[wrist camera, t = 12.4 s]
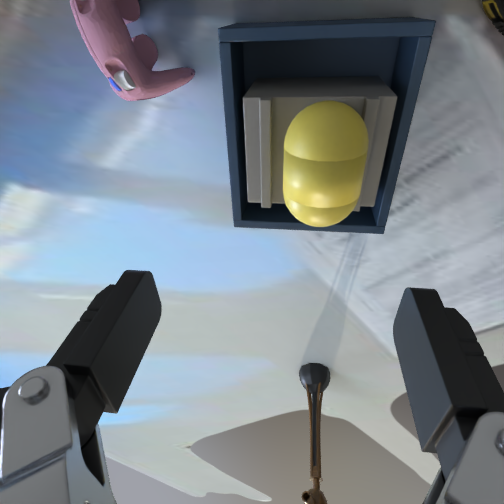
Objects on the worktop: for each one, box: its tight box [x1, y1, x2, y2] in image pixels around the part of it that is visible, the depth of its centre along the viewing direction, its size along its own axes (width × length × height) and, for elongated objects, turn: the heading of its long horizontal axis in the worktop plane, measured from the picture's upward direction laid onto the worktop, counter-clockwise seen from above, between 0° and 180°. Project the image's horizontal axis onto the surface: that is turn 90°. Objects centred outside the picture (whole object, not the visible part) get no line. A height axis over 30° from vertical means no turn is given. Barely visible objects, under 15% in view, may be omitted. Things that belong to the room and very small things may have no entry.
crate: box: [218, 17, 436, 234], centre depth 28 cm, size 16×14×6 cm
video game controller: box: [70, 0, 195, 101], centre depth 25 cm, size 10×5×7 cm, turn 17°
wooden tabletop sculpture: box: [299, 363, 330, 504], centre depth 45 cm, size 6×5×20 cm
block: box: [243, 76, 397, 211], centre depth 27 cm, size 8×10×9 cm
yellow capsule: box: [283, 101, 369, 227], centre depth 22 cm, size 8×5×5 cm, turn 3°
